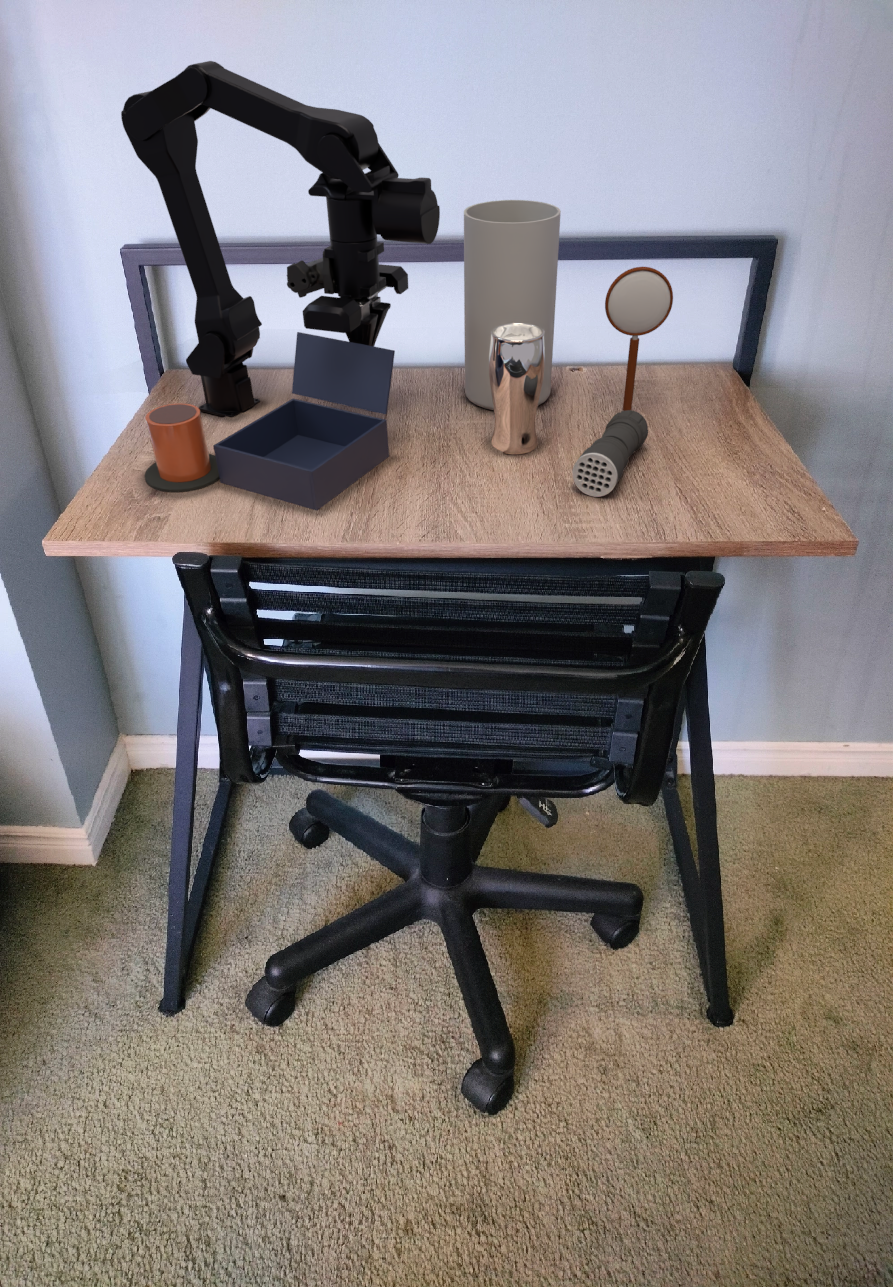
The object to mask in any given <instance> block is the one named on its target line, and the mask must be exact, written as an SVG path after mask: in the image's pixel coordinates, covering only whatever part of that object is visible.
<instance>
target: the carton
mask: <svg viewBox="0 0 893 1287" xmlns="http://www.w3.org/2000/svg"><path fill="white" fill-rule="evenodd" d="M388 434H389V433H388V420H387V419H386V418H380V417H376V416H372V415H368V414H364V413H358V412H355V411H350V410H346V409H341V408H337V407H333V406H329V405H324V404H319V403H315V402H312V401H311V402H310V401H308V400H307V401H306V400H302V399H297V398H291V399H289V400H288V401H286V402H284V403H283V404H281V405H278V406H277V407H276V408H274V409H272V410H271V411H269V412H267V413H266V414H264V415H262V416H260V417H258V418H257V419H256V420H254V421H252V422H251V423H249V424H247V425H246V426H244V427H242V428H240V429H239V430H237V431H235V432H233V433H232V434H230V435H228V436H227V437H225V438H223V439H222V440H220V441H219V442H216V443H215V444H214V445H213V451H214V455H215V457H216V462H217V467H218V472H219V477H220V480H219V482H220V484H222V485H226V486H230V487H234V488H237V489H241V490H244V491H248V492H251V493H255V494H258V495H260V496H261V495H262V496H264V497H268V498H272V499H275V500H279V501H281V502H282V501H283V502H285V503H288V504H289V503H290V504H292V505H296V506H299V507H303V508H307V509H310V510H312V511H319V510H320V509H322V508H323V507H324V506H326V505H327V504H328V503H329V502H330V501H332V500H334V499H335V498H336V497H337V496H338V495H340V494H341V493H343V492H344V491H345V490H347V489H348V488H350V486H352V485H353V484H355V483H356V482H358V481H359V480H360V479H361V478H363V477H364V476H365V475H366V474H368V473H370V471H372V470H373V469H374V468H376V467H377V466H379V465H380V464H381V463H383V462H384V461H385V460H386V459H388V458H389V457H390V450H389V435H388Z"/></svg>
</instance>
